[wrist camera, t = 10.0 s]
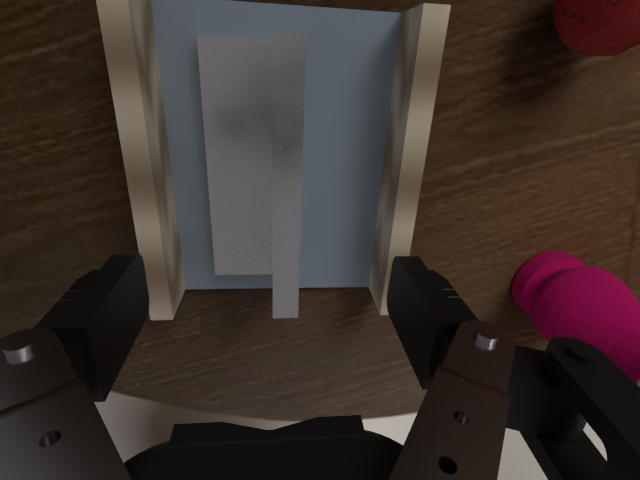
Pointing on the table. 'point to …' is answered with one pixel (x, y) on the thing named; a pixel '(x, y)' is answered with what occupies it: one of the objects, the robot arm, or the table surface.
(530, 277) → the pepper mill
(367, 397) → the table surface
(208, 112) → the bracket
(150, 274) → the walls
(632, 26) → the onion
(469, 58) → the table surface
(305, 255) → the board
